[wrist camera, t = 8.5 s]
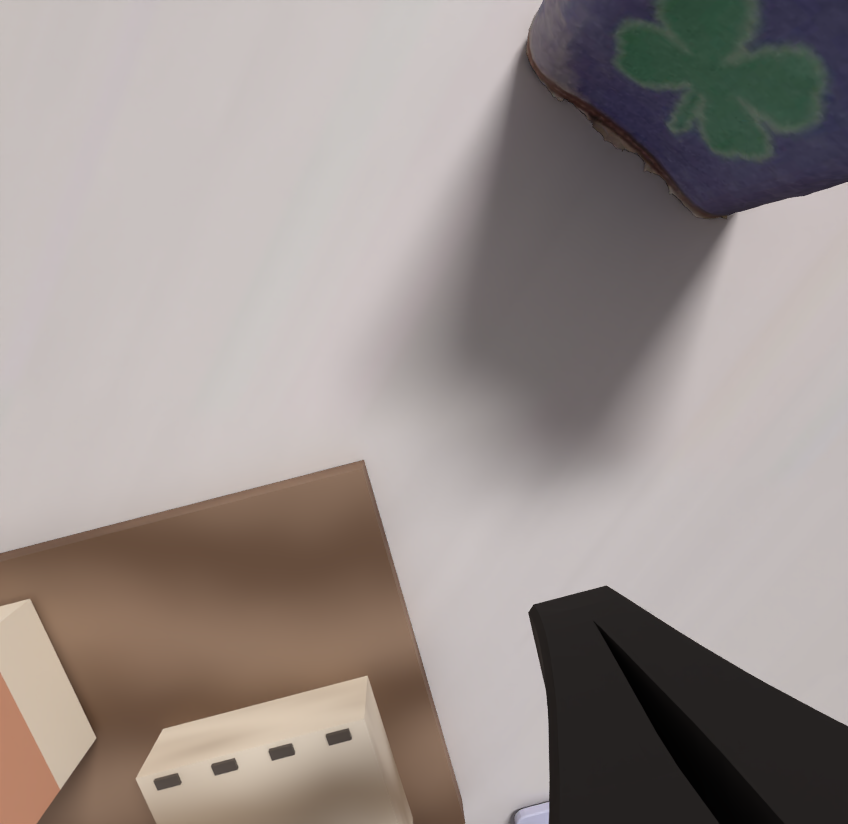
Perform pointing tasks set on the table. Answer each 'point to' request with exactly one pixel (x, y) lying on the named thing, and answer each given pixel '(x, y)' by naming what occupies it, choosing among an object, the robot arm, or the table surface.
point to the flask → (708, 91)
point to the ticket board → (242, 663)
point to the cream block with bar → (35, 718)
